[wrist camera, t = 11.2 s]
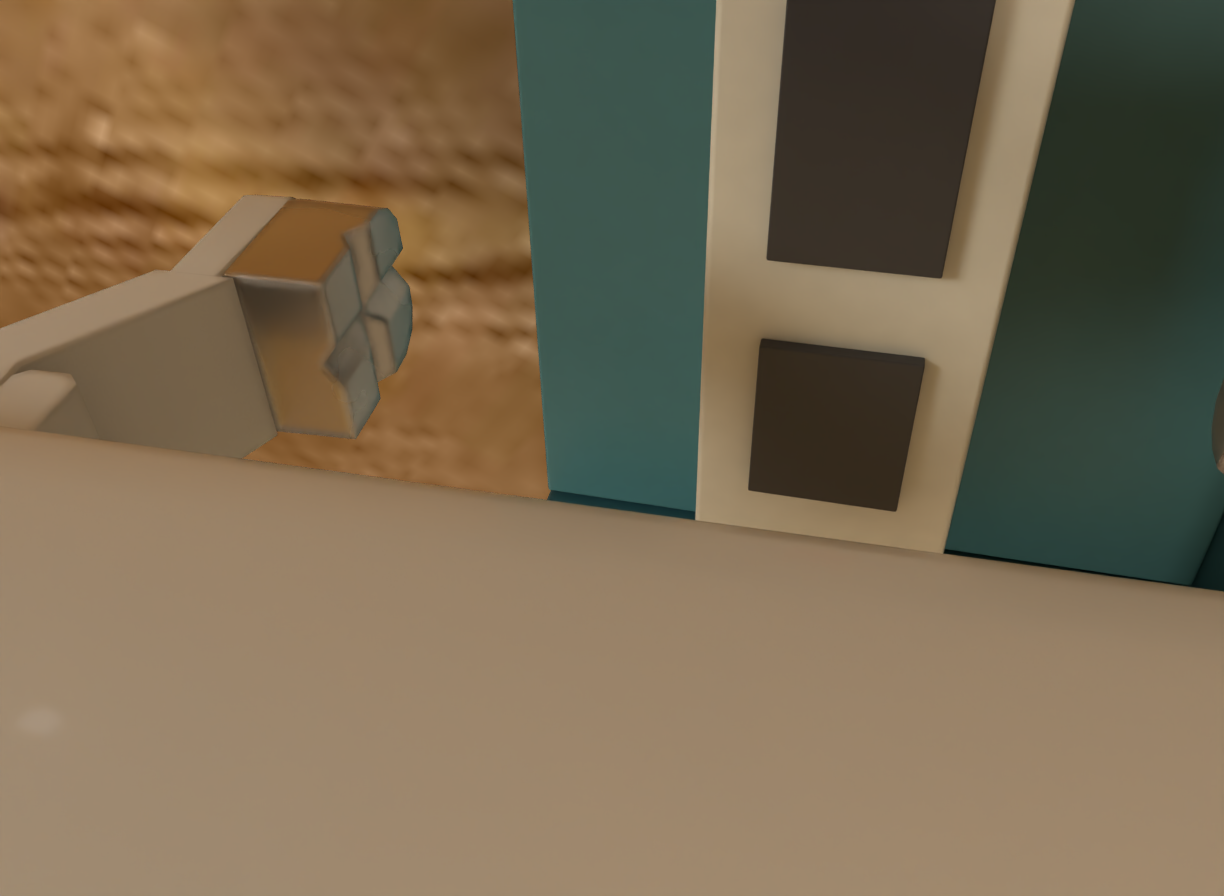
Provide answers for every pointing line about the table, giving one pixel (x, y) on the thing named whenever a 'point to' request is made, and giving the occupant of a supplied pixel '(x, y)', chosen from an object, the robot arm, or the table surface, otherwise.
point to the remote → (861, 253)
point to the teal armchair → (1031, 313)
